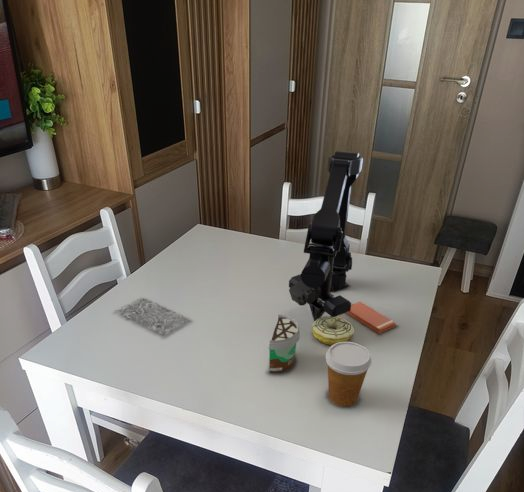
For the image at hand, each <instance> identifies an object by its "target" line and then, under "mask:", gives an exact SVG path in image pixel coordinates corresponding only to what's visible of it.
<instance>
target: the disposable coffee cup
mask: <svg viewBox="0 0 524 492" xmlns="http://www.w3.org/2000/svg"><path fill="white" fill-rule="evenodd" d="M372 360H373V359H372V357H371V352H370V351H369V349H367V348H366V347H365V346H363V344H359V343H357V342H353V341H347V342H339V343H336V344H334V345H330V347H329V348H328V350H327V351H326V353H325V361H326V365H327V383H328V384H327V385H328V386H327V387H328V399H329V400H330V402H331V403H333V404H334V405H336V406H339V407H342V408H344V407H345V408H347V407H352V406H354V405H356V403H357V402H358V399H359V396H360V393H361V390H362V387H363V385H364V382H365V379H366V375H367V372H368V370H369V368H370V367H371V366H372V363H373V361H372Z"/></svg>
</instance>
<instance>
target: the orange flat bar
mask: <svg viewBox="0 0 524 492" xmlns="http://www.w3.org/2000/svg"><path fill="white" fill-rule="evenodd" d="M345 314H347V315H348V316H350V317H351V318H353V319H355V320H356V321H358V322H359V323H360V324H362V325H363V326H366V327H367V328H369V329H371V330H372V331H373V332H374V333H377V334H378V335H381V334H382V333H383V334H384V333H385V332H387V331H389V330H391V329H394V328H396V327H397V324H396V322H395V321H394V320H392V319H390V318H389V317H387V316H385V315H383V314H382V313H381V312H378V311H377V310H375V309H374V308H372V307H370V306H368V305H366V304H365V303H363V302H362V301H358V302H356V303H353V304H351V310H350V311H349V312H346V313H345Z"/></svg>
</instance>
